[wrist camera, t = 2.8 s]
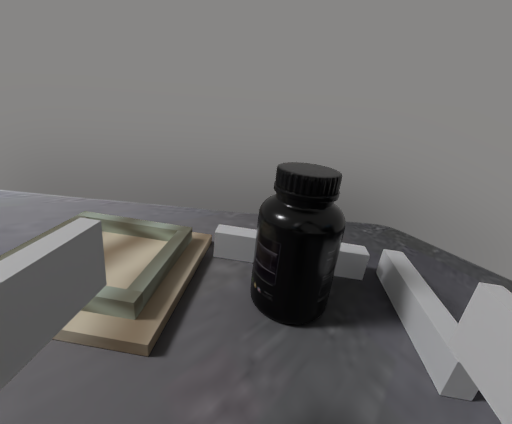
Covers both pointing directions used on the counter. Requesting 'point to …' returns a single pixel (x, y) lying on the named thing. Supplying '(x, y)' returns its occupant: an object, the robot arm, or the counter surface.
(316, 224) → the supplement bottle
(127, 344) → the seating station
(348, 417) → the counter surface
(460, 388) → the bracket
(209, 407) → the counter surface
